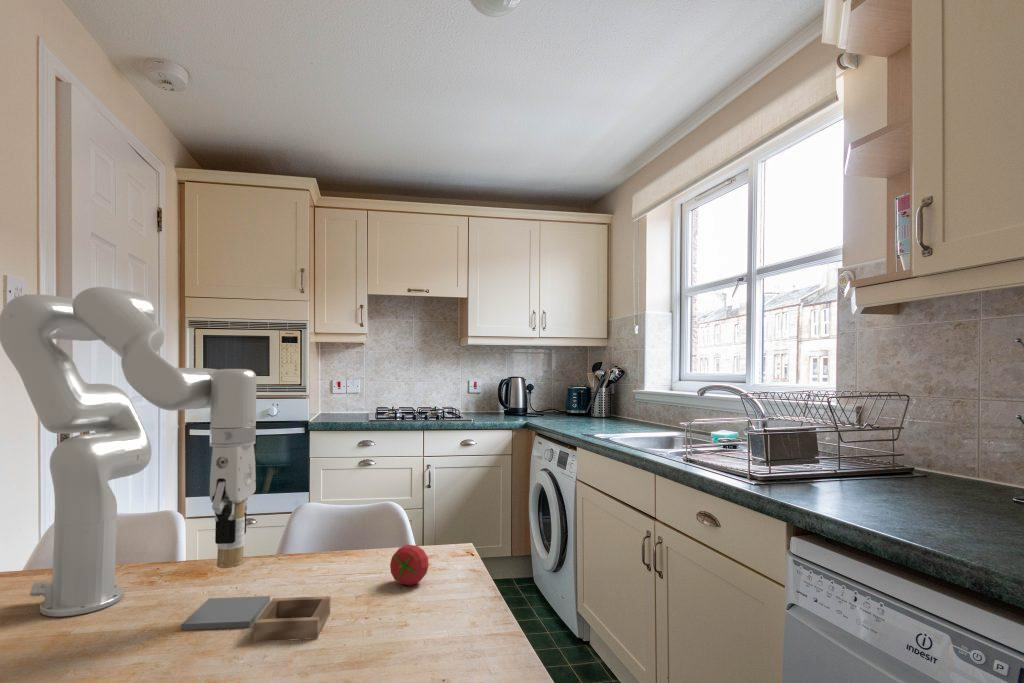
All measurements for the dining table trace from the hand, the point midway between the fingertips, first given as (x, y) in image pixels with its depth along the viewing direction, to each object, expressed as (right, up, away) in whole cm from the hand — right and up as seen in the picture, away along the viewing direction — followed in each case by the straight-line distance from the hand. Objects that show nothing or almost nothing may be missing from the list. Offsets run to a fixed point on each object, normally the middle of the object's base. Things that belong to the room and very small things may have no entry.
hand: (231, 537), depth 103 cm
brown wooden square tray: (+13, -13, -5) cm, 20 cm away
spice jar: (0, -5, 0) cm, 5 cm away
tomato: (+29, -15, +14) cm, 36 cm away
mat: (0, -14, -1) cm, 14 cm away
